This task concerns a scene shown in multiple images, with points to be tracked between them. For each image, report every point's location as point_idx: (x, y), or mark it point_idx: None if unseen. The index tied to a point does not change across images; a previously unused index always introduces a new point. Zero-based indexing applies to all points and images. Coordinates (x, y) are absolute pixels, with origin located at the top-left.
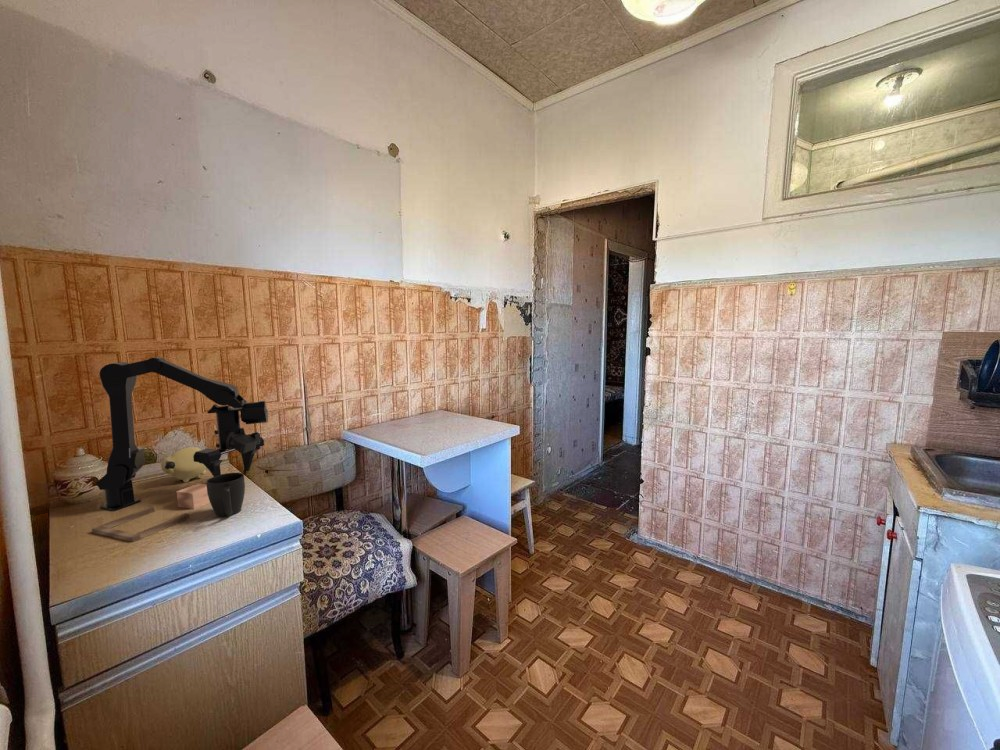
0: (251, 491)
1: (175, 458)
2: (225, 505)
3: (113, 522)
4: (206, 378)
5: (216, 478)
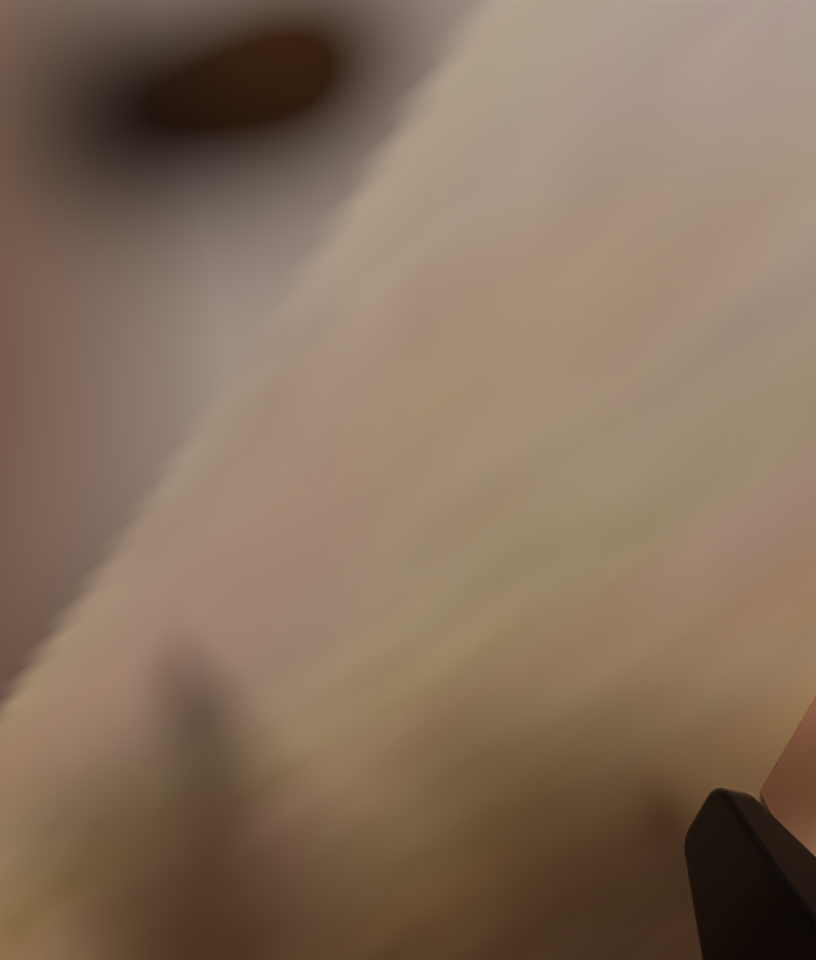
0: (543, 79)
1: None
2: None
3: None
4: None
5: None
